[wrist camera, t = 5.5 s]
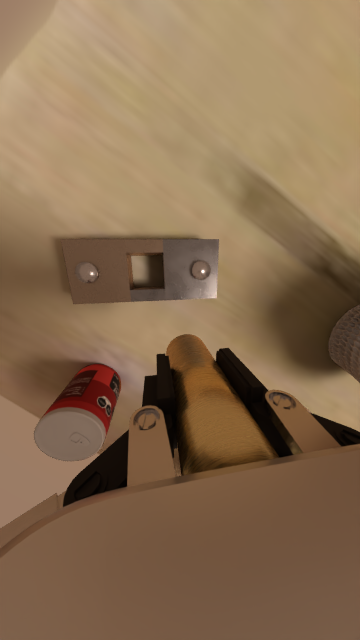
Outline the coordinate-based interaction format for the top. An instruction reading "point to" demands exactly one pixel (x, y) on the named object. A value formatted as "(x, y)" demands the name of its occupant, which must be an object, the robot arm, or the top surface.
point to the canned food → (80, 415)
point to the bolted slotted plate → (116, 269)
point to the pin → (210, 413)
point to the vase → (347, 342)
